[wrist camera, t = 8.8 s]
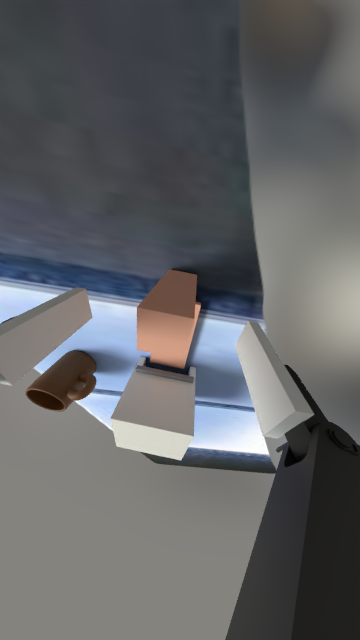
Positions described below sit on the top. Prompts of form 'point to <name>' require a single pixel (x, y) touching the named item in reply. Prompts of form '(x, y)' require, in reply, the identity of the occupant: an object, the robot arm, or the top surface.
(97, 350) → the top surface
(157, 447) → the off-white block
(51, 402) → the mug
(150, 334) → the orange l-shaped bracket
